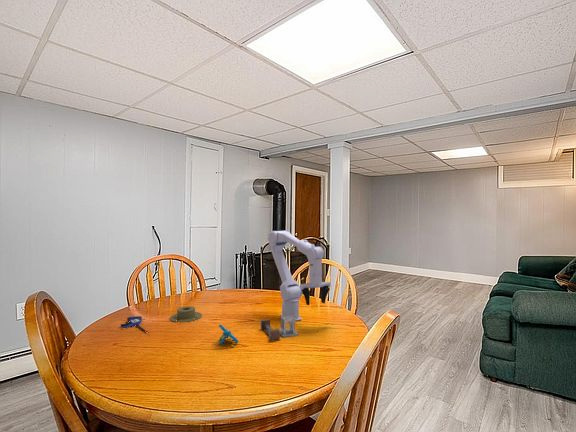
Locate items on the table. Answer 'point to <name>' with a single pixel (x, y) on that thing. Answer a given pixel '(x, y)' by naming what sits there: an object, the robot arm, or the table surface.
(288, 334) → the mat
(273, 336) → the rail
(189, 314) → the flange
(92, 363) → the table surface
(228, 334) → the blue lobed piece
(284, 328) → the bracket
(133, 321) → the bar clamp
